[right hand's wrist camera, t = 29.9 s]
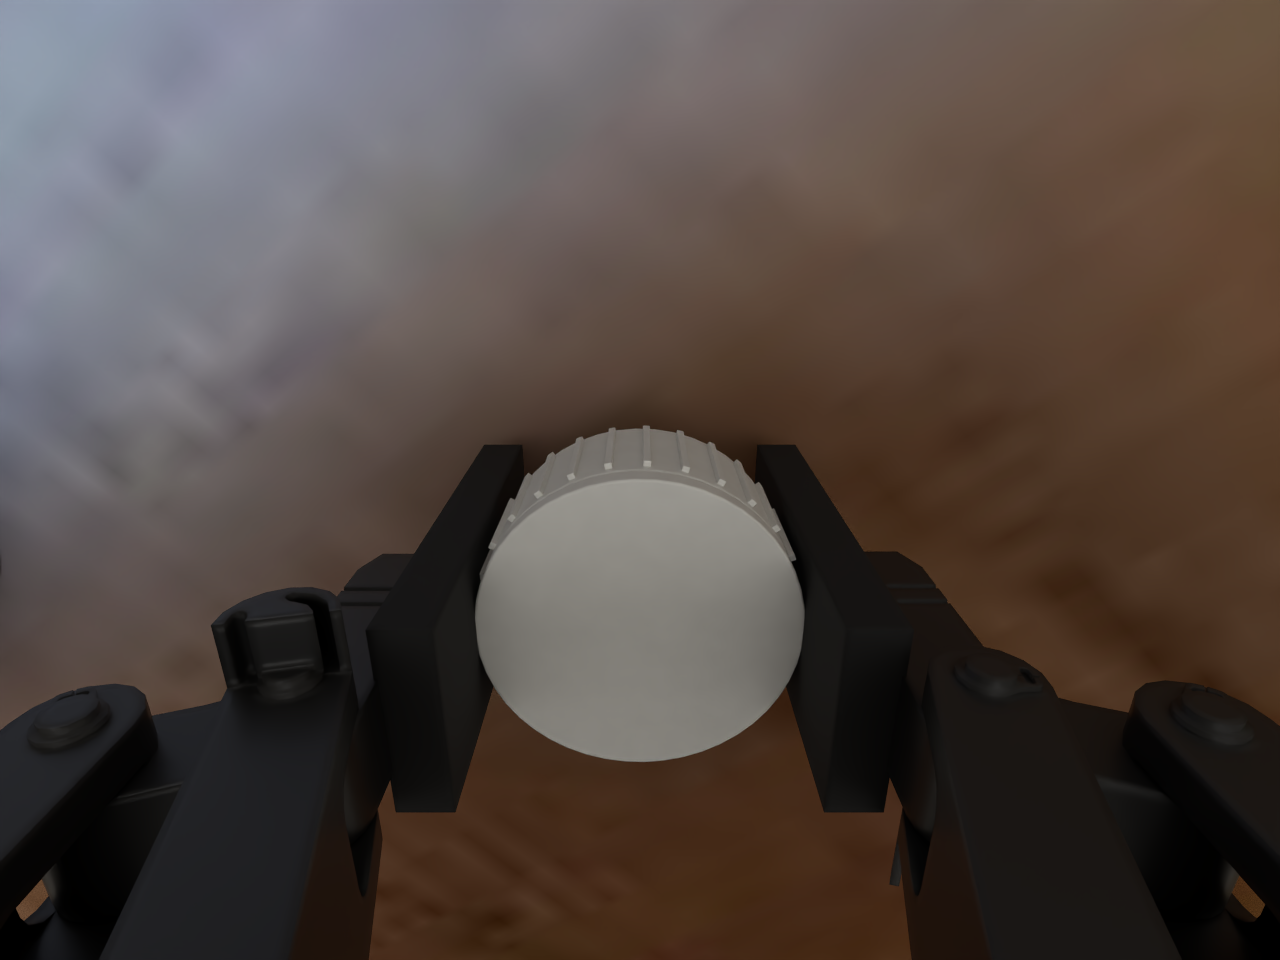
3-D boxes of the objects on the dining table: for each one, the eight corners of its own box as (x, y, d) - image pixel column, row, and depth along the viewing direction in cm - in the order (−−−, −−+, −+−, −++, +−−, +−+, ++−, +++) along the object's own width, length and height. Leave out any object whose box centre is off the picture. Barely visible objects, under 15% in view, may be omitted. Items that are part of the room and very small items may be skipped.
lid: (455, 470, 12) (414, 529, 9) (743, 386, 11) (767, 430, 9) (554, 701, 13) (536, 796, 11) (807, 637, 13) (840, 724, 11)
